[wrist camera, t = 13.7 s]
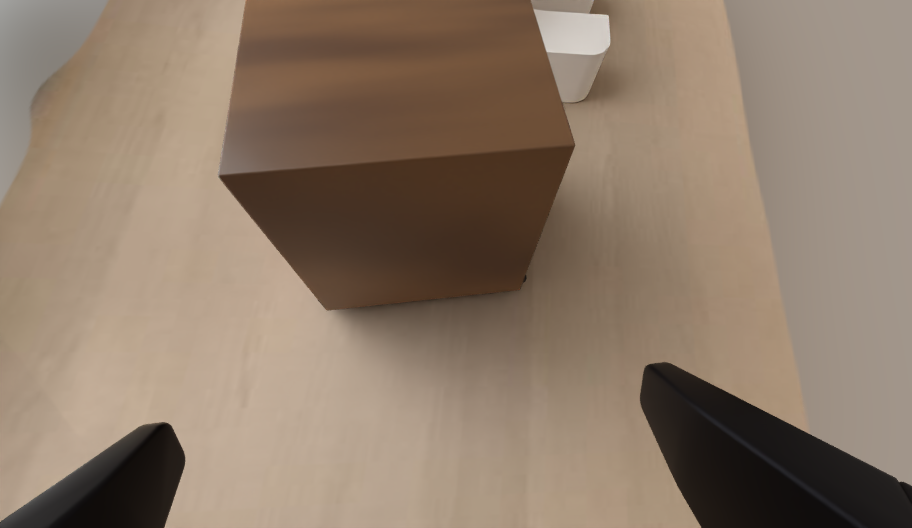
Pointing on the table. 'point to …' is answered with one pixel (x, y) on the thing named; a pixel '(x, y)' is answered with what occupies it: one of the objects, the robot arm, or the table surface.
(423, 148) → the box
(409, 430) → the table surface
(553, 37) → the bracket
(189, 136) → the table surface
